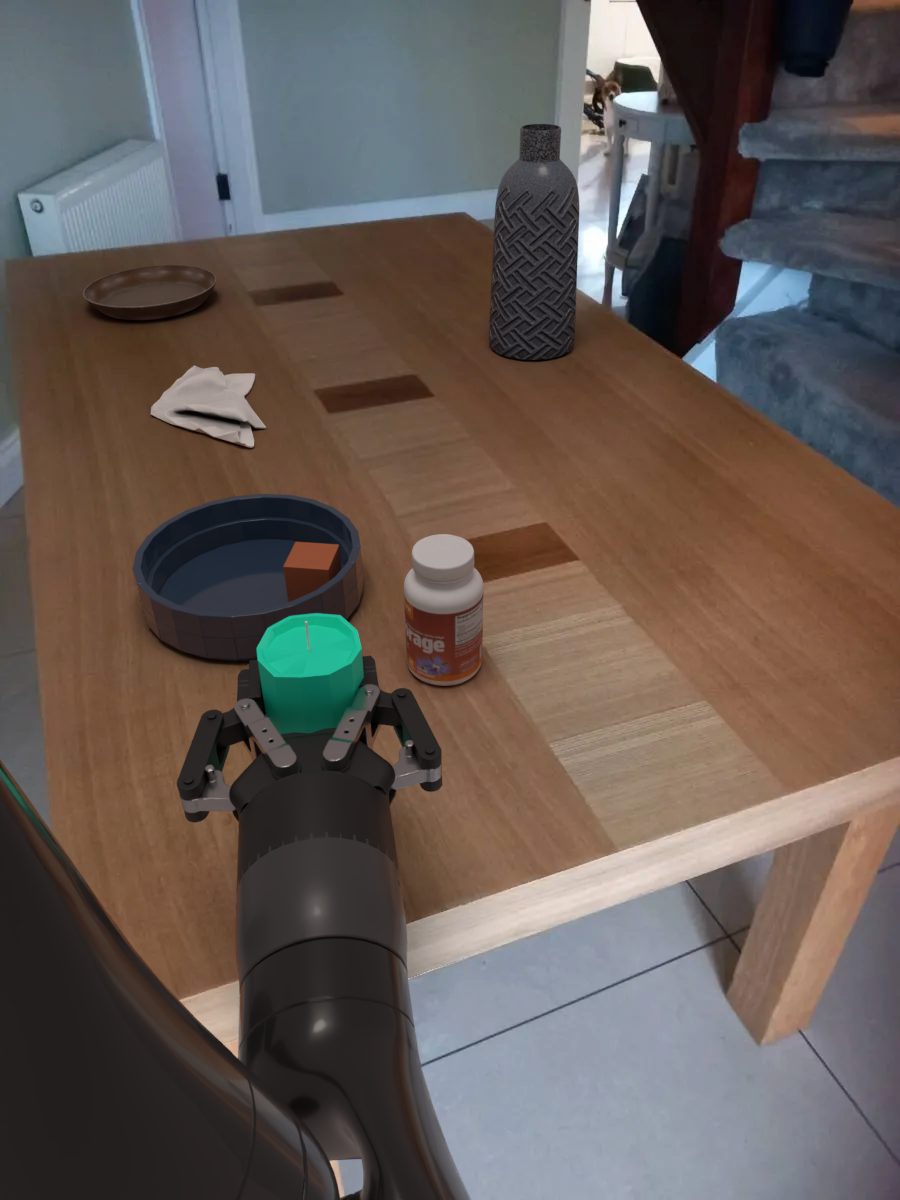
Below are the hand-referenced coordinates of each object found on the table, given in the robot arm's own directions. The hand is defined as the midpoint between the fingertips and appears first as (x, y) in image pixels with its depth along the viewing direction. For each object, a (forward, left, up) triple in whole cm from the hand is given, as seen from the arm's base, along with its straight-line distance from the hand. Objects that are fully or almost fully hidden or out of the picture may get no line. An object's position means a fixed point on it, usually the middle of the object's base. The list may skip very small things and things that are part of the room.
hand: (307, 666), depth 56 cm
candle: (+1, -2, -7) cm, 8 cm away
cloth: (-28, +63, -13) cm, 70 cm away
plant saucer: (-49, +101, -13) cm, 113 cm away
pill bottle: (+7, +16, -13) cm, 21 cm away
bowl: (-11, +24, -12) cm, 29 cm away
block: (-6, +24, -12) cm, 27 cm away
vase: (+12, +87, -13) cm, 88 cm away
